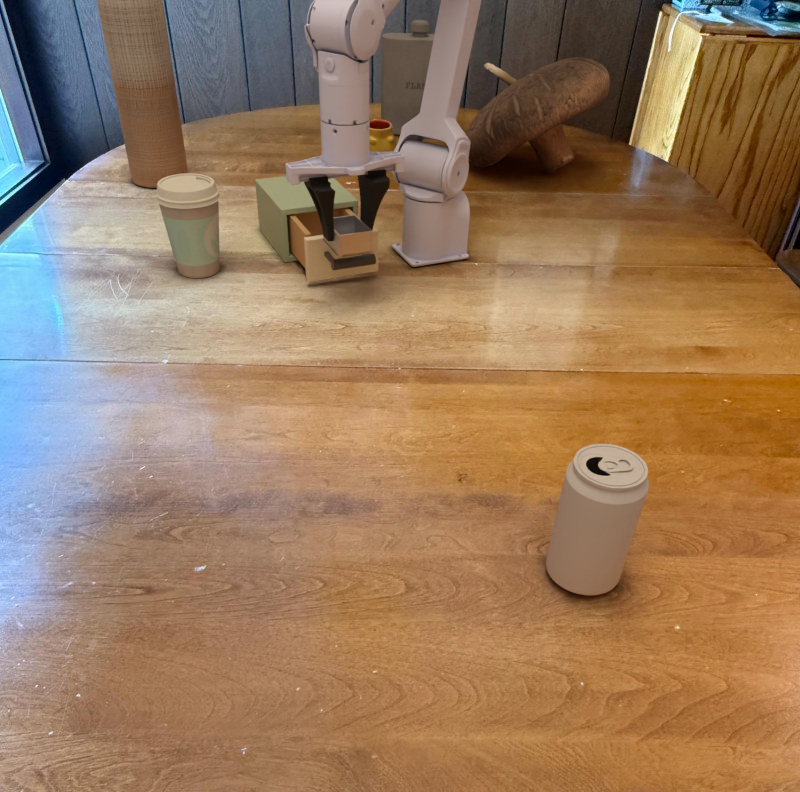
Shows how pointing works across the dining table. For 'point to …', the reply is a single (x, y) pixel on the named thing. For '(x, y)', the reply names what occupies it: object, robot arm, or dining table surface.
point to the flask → (404, 73)
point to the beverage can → (596, 518)
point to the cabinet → (290, 208)
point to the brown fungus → (537, 111)
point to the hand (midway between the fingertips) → (347, 235)
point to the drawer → (325, 248)
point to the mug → (381, 136)
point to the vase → (144, 88)
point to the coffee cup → (191, 222)
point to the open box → (350, 237)
